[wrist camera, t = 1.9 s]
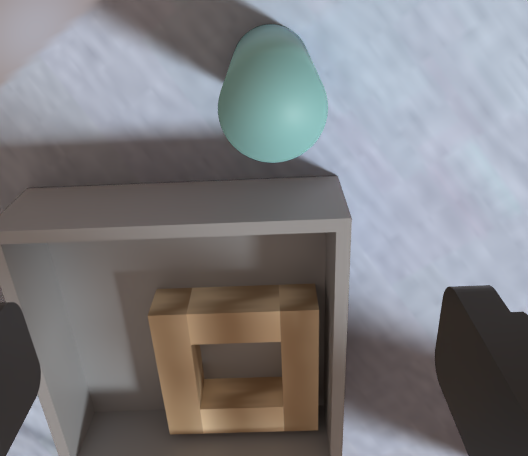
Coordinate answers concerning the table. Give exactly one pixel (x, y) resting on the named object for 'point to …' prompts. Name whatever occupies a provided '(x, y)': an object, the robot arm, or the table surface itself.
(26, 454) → the table surface
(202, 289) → the bore block
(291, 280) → the open box
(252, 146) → the peg
